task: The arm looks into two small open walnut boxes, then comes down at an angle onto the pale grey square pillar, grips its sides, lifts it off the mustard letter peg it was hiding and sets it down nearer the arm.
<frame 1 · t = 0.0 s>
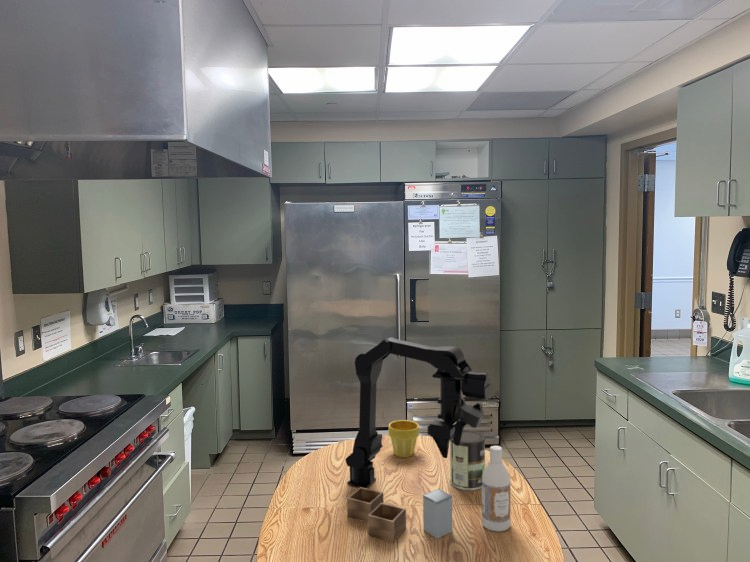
hand: (451, 451, 143), 15 cm above the table, tool pointing down, fingers open, 9 cm apart
pale grey square pillar: (437, 530, 131), on the table
plant pot: (404, 453, 178), on the table
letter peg: (437, 522, 131), in the pale grey square pillar
bath foam: (496, 525, 133), on the table
coffee can: (467, 483, 156), on the table
box b: (387, 531, 131), on the table
box a: (365, 513, 140), on the table
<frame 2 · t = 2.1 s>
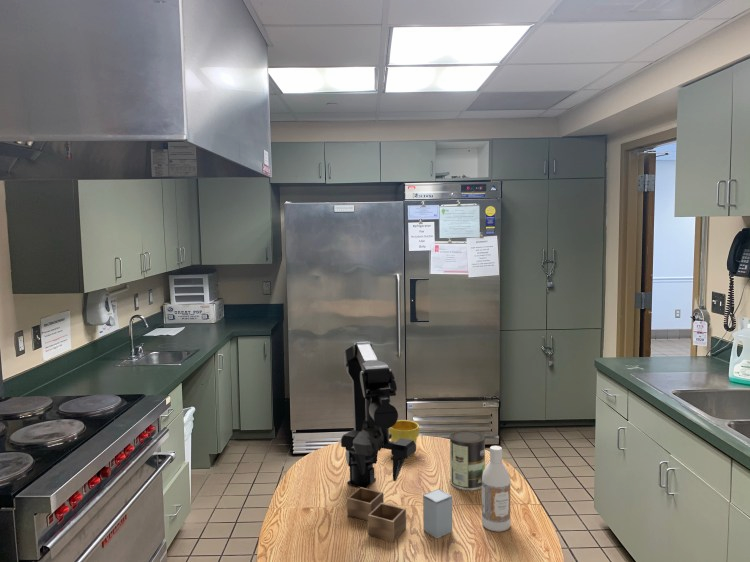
hand: (378, 477, 132), 13 cm above the table, tool pointing down, fingers open, 9 cm apart
nothing on the table moved.
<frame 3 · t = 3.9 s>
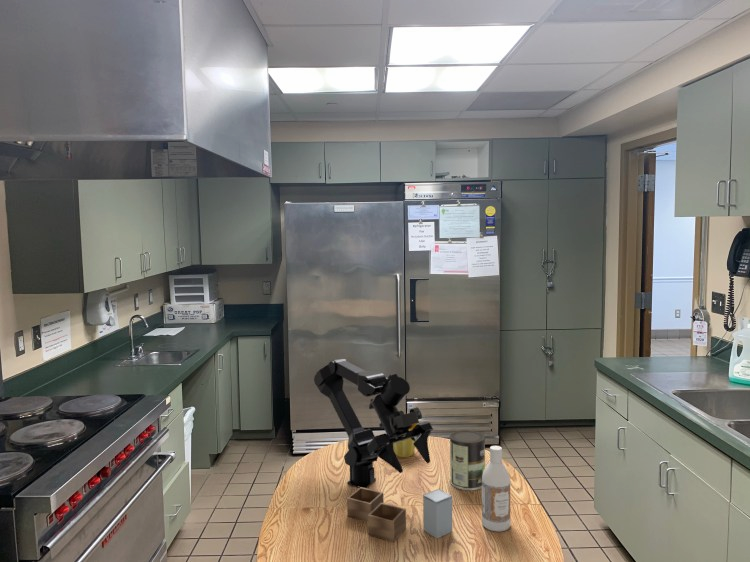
hand: (415, 467, 136), 13 cm above the table, tool tilted 45°, fingers open, 9 cm apart
nothing on the table moved.
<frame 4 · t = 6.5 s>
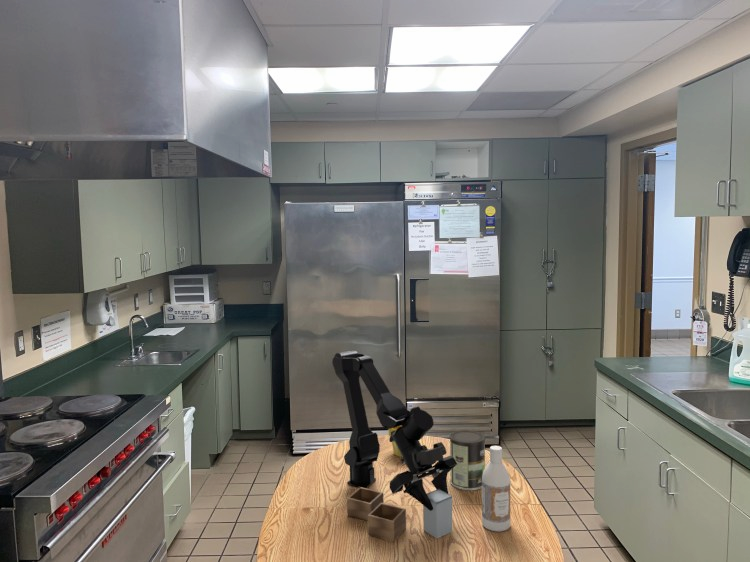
hand: (440, 506, 130), 7 cm above the table, tool tilted 45°, fingers closed on pale grey square pillar, 5 cm apart
pale grey square pillar: (437, 530, 131), on the table, touching gripper
everything else where it was.
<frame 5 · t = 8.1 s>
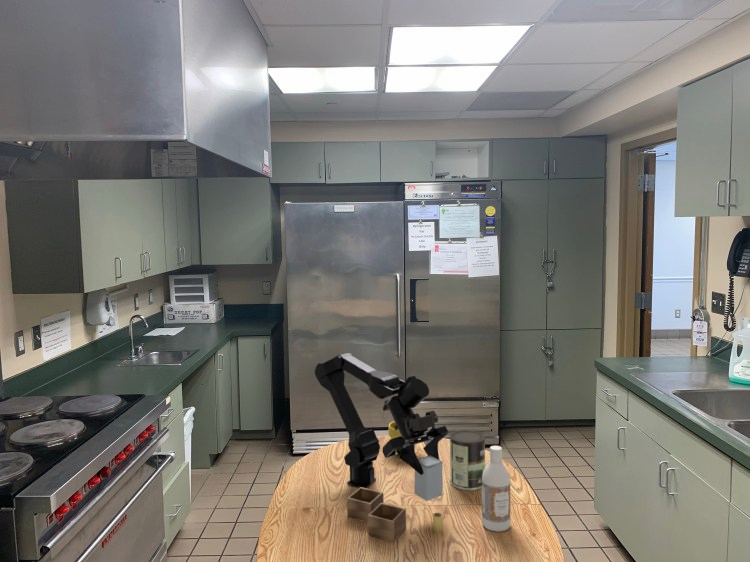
hand: (430, 471, 135), 13 cm above the table, tool tilted 45°, fingers closed on pale grey square pillar, 5 cm apart
pale grey square pillar: (428, 494, 136), point 6 cm above the table, touching gripper
everything else where it was.
when the fingers open (8 cm above the table, at t = 10.0 s): pale grey square pillar stays where it is, on the table.
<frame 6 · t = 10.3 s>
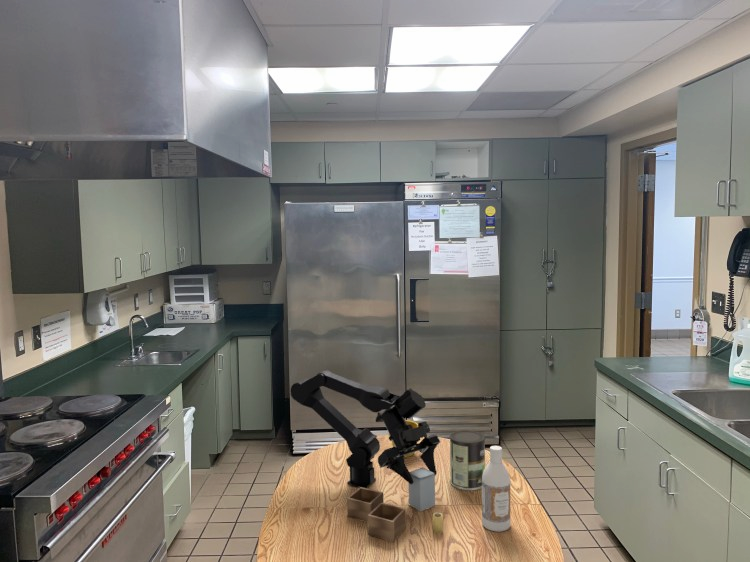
hand: (424, 479, 142), 8 cm above the table, tool tilted 45°, fingers open, 8 cm apart
pale grey square pillar: (421, 505, 144), on the table
everything else where it was.
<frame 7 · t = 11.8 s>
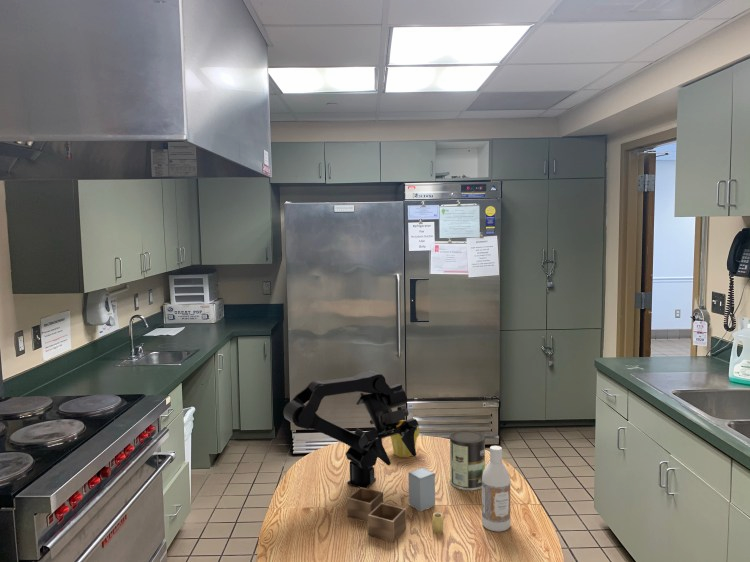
hand: (402, 460, 149), 10 cm above the table, tool tilted 45°, fingers open, 9 cm apart
nothing on the table moved.
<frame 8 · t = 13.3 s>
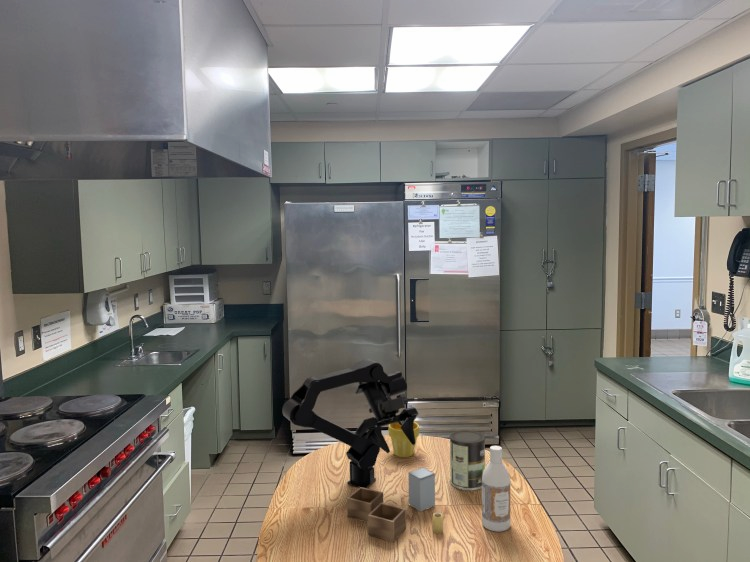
hand: (401, 448, 148), 14 cm above the table, tool tilted 45°, fingers open, 9 cm apart
nothing on the table moved.
at the end: pale grey square pillar moved 13.1 cm from its start; pale grey square pillar inside the target area (0.4 cm from its centre), on the table; pale grey square pillar tilted 0° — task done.
